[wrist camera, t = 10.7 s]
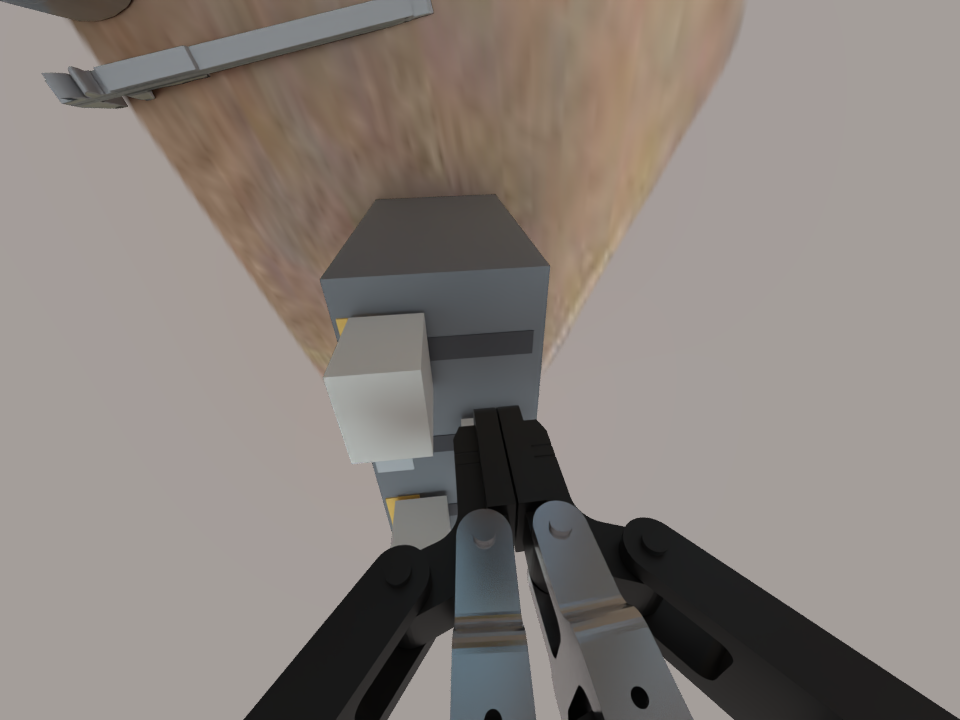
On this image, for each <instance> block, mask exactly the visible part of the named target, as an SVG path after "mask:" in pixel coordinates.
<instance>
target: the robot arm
mask: <svg viewBox="0 0 960 720" xmlns="http://www.w3.org/2000/svg"><path fill="white" fill-rule="evenodd" d="M0 1H2V2H7V3H10V4H14V5H18V6H22V7H25V8H29V9H33V10H37V11H41V12H45V13H49V14H53V15H56V16H60V17H65V18H69V19H73V20H77V21H100V20H104V19H107V18H110V17H114V16H115V15H117V14H118V13H119V12H121V11H122V10H123V9H125V8H126V7H127V6H128V5H129V3H130V2H131V0H0ZM473 420H474V425H471V426H461V427H459V428H458V430H457V432H456V434H455V436H454V439H453V444H454V459H455V474H456V490H457V505H458V515H457V520H456V523H455V525H454V527H453V528H452V530H451V531H450V532H449V533H448V534H447V535H446V536H445V537H444V538H443V539H441V540H440V541H438V542H436V543H434V544H432V545H430V546H427V547H425V548H423V549H421V550H420V549H418V548H416V547H414V546H411V545H398V546H394V547H392V548H390V549H388V550H386V551H385V552H384V553H382V554H381V555H380V556H379V557H378V558H377V559H376V561H375V562H374V563H373V564H372V565H371V567H370V568H369V569H368V570H367V571H366V573H365V574H364V575H363V576H362V578H361V579H360V580H359V581H358V582H357V583H356V585H355V586H354V587H353V588H352V590H351V591H350V592H349V593H348V594H347V596H346V597H345V598H344V599H343V600H342V602H341V603H340V604H339V605H338V606H337V608H336V609H335V610H334V611H333V613H332V614H331V615H330V616H329V617H328V619H327V620H326V621H325V622H324V624H322V626H321V627H320V628H319V629H318V631H317V632H316V633H315V634H314V635H313V637H312V638H311V639H310V640H309V641H308V643H307V644H306V645H305V646H304V647H303V649H302V650H301V651H300V652H299V653H298V655H297V656H296V657H295V658H294V659H293V661H292V662H291V663H290V664H289V665H288V667H287V668H286V669H285V670H284V672H283V673H282V674H281V675H280V676H279V678H278V679H277V680H276V681H275V683H274V684H273V685H272V686H271V687H270V688H269V690H268V691H267V692H266V693H265V695H264V696H263V697H262V698H261V699H260V701H259V702H258V703H257V704H256V705H255V706H254V708H253V709H252V710H251V711H250V713H249V714H248V715H247V716H246V718H245V719H244V720H387V719H388V718H389V716H390V714H391V712H392V711H393V709H394V708H395V706H396V704H397V703H398V701H399V699H400V698H401V696H402V694H403V692H404V691H405V689H406V687H407V686H408V684H409V682H410V681H411V679H412V677H413V676H414V674H415V672H416V671H417V669H418V667H419V666H420V664H421V662H422V661H423V659H424V657H425V656H426V654H427V652H428V650H429V649H430V647H431V645H432V644H433V642H434V640H435V638H436V637H437V636H439V635H441V634H443V633H444V632H446V631H448V630H450V629H451V628H453V627H454V629H453V638H452V667H451V669H452V670H451V710H450V720H536V714H535V706H534V697H533V688H532V680H531V671H530V663H529V654H528V646H527V639H526V633H525V628H524V625H523V622H522V617H521V609H520V600H519V591H518V582H517V573H516V565H515V555H514V546H515V551H516V552H521V551H525V555H526V560H527V564H528V571H527V578H528V583H529V587H530V591H531V595H532V598H533V601H534V605H535V609H536V613H537V616H538V620H539V623H540V627H541V630H542V634H543V638H544V641H545V645H546V649H547V652H548V656H549V660H550V665H551V672H552V681H553V686H554V691H555V696H556V700H557V704H558V708H559V711H560V715H561V719H562V720H693V718H692V716H691V714H690V711H689V710H688V707H687V705H686V704H685V701H684V699H683V697H682V695H681V693H680V691H679V689H678V687H677V685H676V683H675V681H674V679H673V677H672V675H671V673H670V670H669V669H668V666H667V664H666V662H665V660H664V658H665V659H666V660H667V661H668V662H670V663H671V664H672V665H673V666H674V667H675V668H676V669H677V670H679V671H680V672H681V673H682V674H683V675H684V676H685V677H686V678H688V679H689V680H690V681H691V682H692V683H693V684H694V685H695V686H697V687H698V688H699V689H700V690H701V691H702V692H703V693H705V694H706V695H707V696H708V697H709V698H710V699H711V700H713V701H714V702H715V703H716V704H717V705H718V706H719V707H720V708H722V709H723V710H724V711H725V712H726V713H727V714H728V715H730V716H731V717H732V718H733V719H734V720H960V719H958V718H957V717H955V716H954V715H952V714H951V713H949V712H948V711H946V710H945V709H943V708H942V707H940V706H939V705H937V704H936V703H934V702H933V701H931V700H930V699H928V698H927V697H925V696H924V695H922V694H921V693H919V692H918V691H916V690H915V689H913V688H912V687H910V686H909V685H907V684H906V683H904V682H902V681H901V680H899V679H898V678H896V677H895V676H893V675H892V674H890V673H889V672H887V671H886V670H884V669H883V668H881V667H880V666H878V665H877V664H875V663H874V662H872V661H871V660H869V659H868V658H866V657H865V656H863V655H861V654H860V653H859V652H857V651H855V650H854V649H853V648H851V647H850V646H848V645H847V644H845V643H843V642H842V641H840V640H839V639H837V638H836V637H834V636H833V635H831V634H830V633H828V632H827V631H825V630H824V629H822V628H821V627H819V626H818V625H816V624H815V623H813V622H812V621H810V620H809V619H807V618H806V617H804V616H803V615H801V614H800V613H798V612H797V611H795V610H794V609H792V608H790V607H789V606H787V605H786V604H784V603H783V602H781V601H780V600H778V599H777V598H775V597H774V596H772V595H771V594H769V593H768V592H766V591H765V590H763V589H762V588H760V587H759V586H757V585H756V584H754V583H753V582H751V581H750V580H748V579H747V578H745V577H744V576H742V575H740V574H739V573H738V572H736V571H734V570H733V569H732V568H730V567H728V566H727V565H726V564H724V563H722V562H721V561H719V560H718V559H716V558H715V557H713V556H712V555H710V554H709V553H707V552H706V551H704V550H703V549H701V548H700V547H698V546H697V545H695V544H694V543H692V542H691V541H689V540H688V539H686V538H685V537H683V536H682V535H680V534H679V533H677V532H676V531H674V530H672V529H671V528H669V527H668V526H667V525H665V524H663V523H662V522H659V521H657V520H654V519H651V518H636V519H633V520H632V521H630V522H629V523H628V524H627V525H626V527H623V526H618V525H613V524H609V523H603V522H599V521H596V520H594V519H591V518H589V517H588V516H586V515H585V514H583V513H582V512H581V511H580V510H579V509H578V508H577V507H576V506H575V505H574V503H573V501H572V499H571V497H570V495H569V492H568V489H567V486H566V484H565V481H564V478H563V475H562V473H561V470H560V467H559V464H558V461H557V459H556V457H555V453H554V450H553V447H552V446H551V442H550V439H549V436H548V434H547V431H546V430H545V428H544V427H543V426H542V425H541V424H540V423H539V422H538V421H537V420H536V419H534V420H523V417H522V414H521V411H520V407H519V405H513V406H502V407H496V408H495V407H492V408H481V409H473ZM663 657H664V658H663Z"/></svg>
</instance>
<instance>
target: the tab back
mask: <svg viewBox="0 0 960 720" xmlns="http://www.w3.org/2000/svg"><path fill="white" fill-rule="evenodd" d="M450 531H451V527H450V519H449V511H448V502H447V495H446V496H437V497H427V498H417V499H407V500H398V501H395V509H394V519H393V528H392V538H391V548H392V547H394V546H398V545H411V546H414V547H416V548H418V549H420V550H421V549H423V548H425V547H427V546H430V545H432V544H434V543H436V542H438V541H440V540H441V539H443V538H444V537H445V536H446V535H447V534H448V533H449V532H450Z"/></svg>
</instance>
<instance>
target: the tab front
mask: <svg viewBox="0 0 960 720" xmlns="http://www.w3.org/2000/svg"><path fill="white" fill-rule="evenodd" d="M323 380H324V383H325V386H326V389H327V391H328V395H329V397H330V400H331V404H332V407H333V409H334V413H335V415H336V419H337V422H338V425H339V428H340V431H341V434H342V437H343V439H344V443H345V445H346V448H347V451H348V454H349V458H350V460H351V463H352V464H357V463H368V462H379V461H389V460H400V459H410V458H421V457H431V456H433V382H432V374H431V365H430V357H429V349H428V341H427V333H426V325H425V316H424V313H413V314H398V315H383V316H368V317H353V318H348V320H347V322H346V325H345V327H344V329H343V332H342V334H341V336H340V339H339V341H338V343H337V346H336V348H335V350H334V353H333V355H332V357H331V360H330V362H329V364H328V367H327V369H326V371H325V374H324V376H323Z"/></svg>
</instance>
